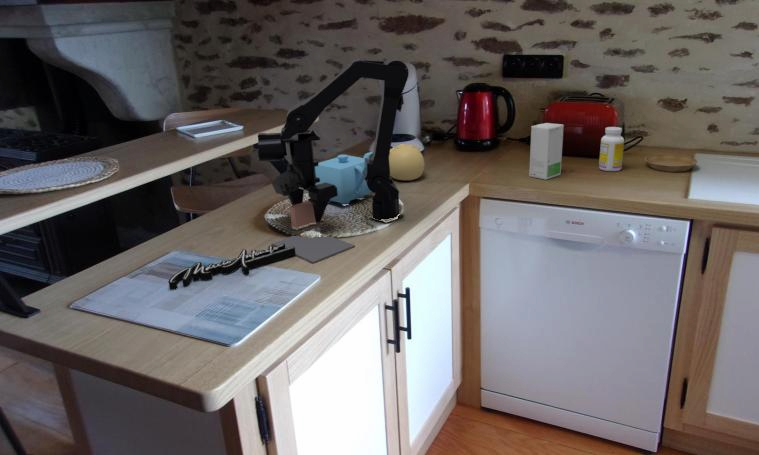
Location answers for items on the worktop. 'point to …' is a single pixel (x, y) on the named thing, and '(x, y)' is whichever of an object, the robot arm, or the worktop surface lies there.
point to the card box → (302, 214)
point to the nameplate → (231, 265)
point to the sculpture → (406, 162)
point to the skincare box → (546, 150)
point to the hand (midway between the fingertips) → (308, 218)
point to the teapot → (344, 177)
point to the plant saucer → (670, 162)
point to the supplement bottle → (611, 150)
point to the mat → (315, 247)
